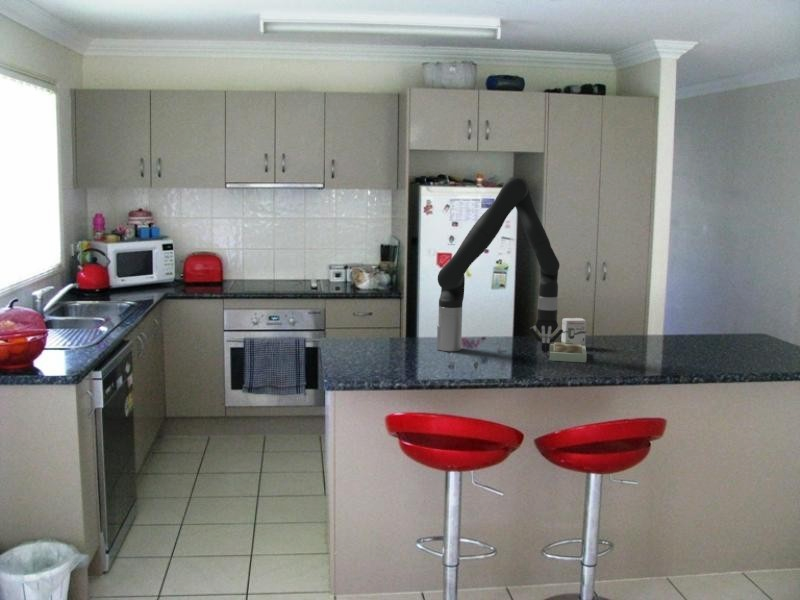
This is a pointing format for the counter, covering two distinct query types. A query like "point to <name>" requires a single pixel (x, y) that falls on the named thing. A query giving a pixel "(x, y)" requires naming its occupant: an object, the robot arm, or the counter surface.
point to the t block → (567, 348)
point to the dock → (567, 355)
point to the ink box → (573, 331)
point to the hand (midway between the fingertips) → (545, 352)
